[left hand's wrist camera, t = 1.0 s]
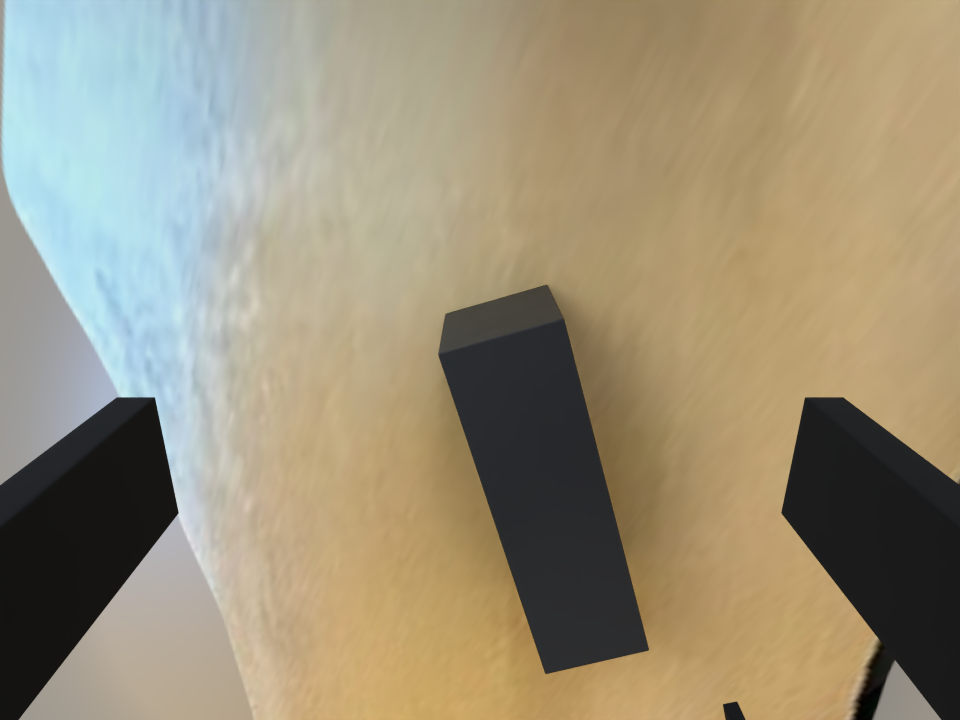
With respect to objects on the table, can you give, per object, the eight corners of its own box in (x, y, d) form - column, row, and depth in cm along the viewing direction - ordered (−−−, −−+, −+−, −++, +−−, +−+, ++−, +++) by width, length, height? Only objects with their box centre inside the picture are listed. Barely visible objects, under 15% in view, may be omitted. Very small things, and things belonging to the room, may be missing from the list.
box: (445, 313, 43) (437, 353, 35) (547, 284, 42) (563, 318, 34) (534, 589, 51) (545, 674, 43) (621, 568, 50) (649, 650, 42)
